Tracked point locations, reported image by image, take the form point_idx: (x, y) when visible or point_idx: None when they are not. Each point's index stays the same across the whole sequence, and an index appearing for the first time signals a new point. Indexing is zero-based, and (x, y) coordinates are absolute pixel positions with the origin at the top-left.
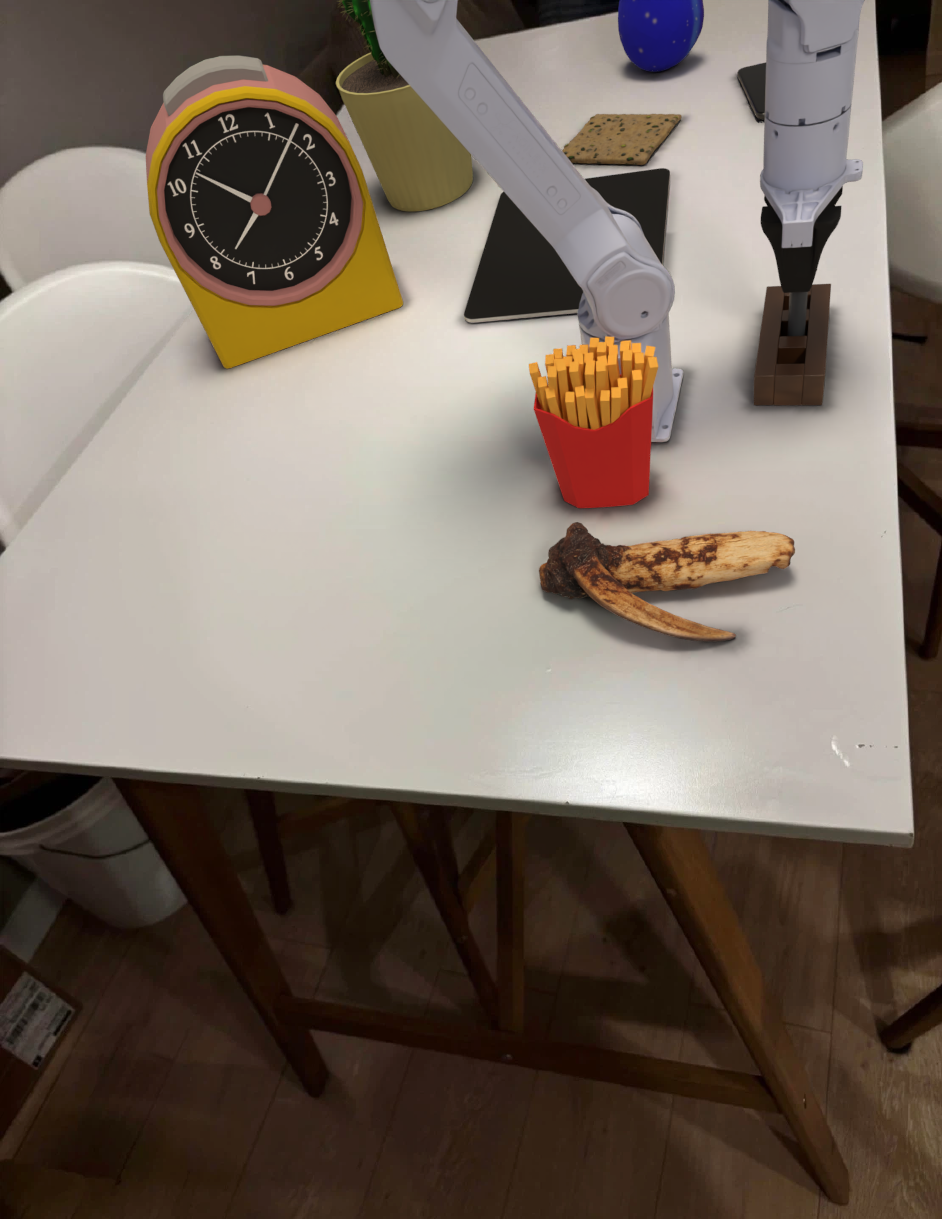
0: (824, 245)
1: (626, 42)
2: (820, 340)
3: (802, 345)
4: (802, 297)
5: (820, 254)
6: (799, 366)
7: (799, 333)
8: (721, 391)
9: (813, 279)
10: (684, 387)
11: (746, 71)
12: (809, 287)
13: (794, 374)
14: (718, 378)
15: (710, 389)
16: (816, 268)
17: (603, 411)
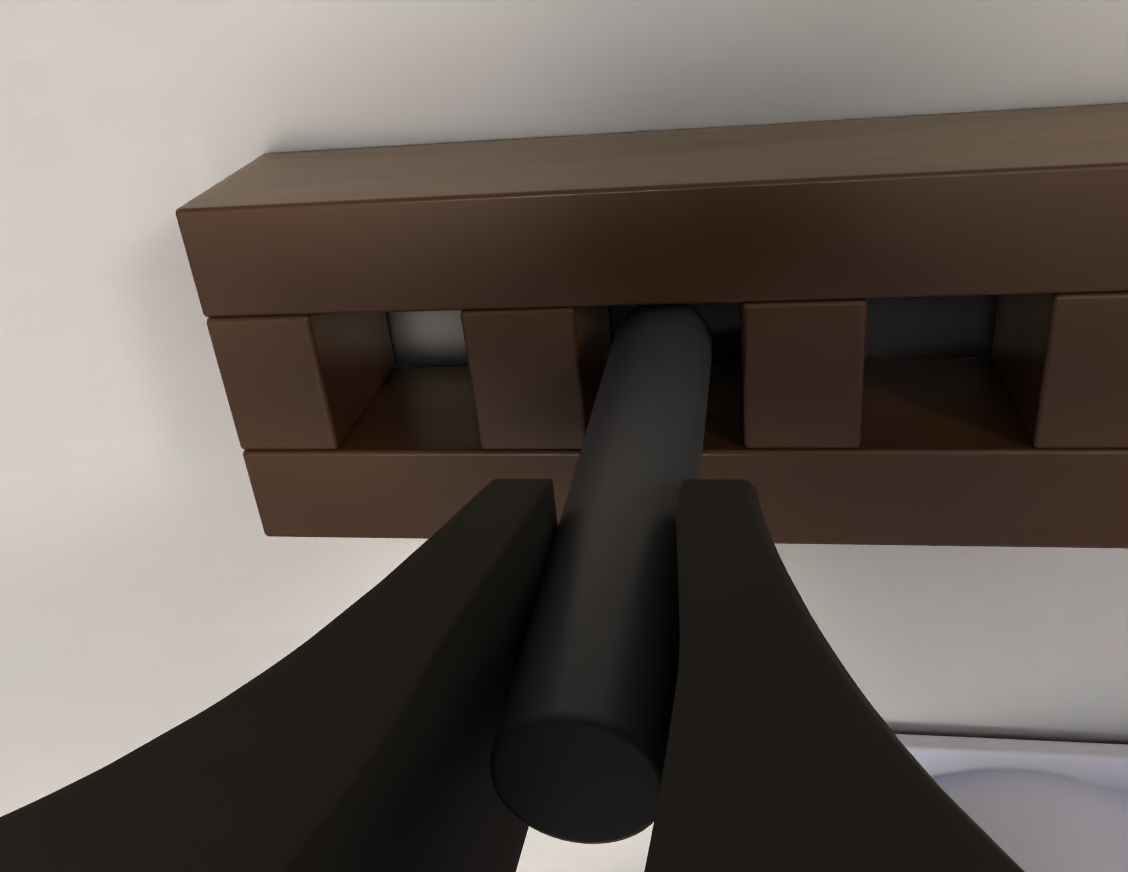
0: (921, 772)
1: None
2: (804, 222)
3: (853, 323)
4: (687, 471)
5: (853, 689)
6: (1089, 323)
7: (706, 345)
8: (943, 578)
9: (757, 520)
10: (898, 712)
11: None
12: (758, 501)
13: None
14: (838, 596)
15: (923, 620)
16: (789, 582)
17: None
